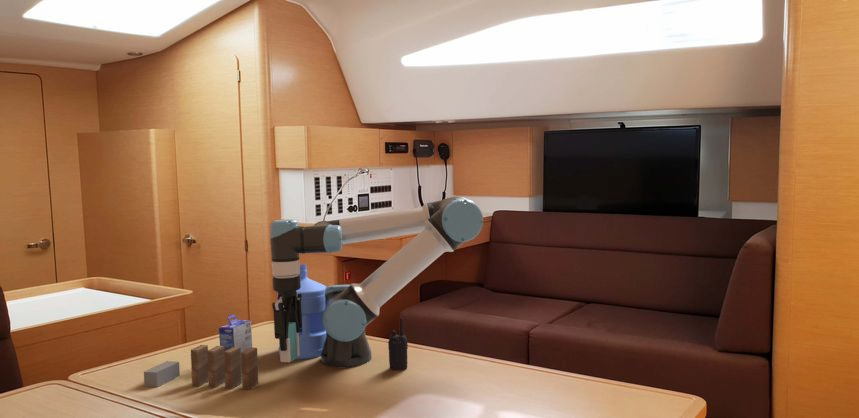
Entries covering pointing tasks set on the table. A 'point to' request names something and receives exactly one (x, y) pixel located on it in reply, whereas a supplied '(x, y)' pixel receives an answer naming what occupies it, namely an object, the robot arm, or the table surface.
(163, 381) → the block
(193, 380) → the domino
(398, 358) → the two-way radio
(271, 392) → the table surface
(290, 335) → the teal domino
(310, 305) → the water jug
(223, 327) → the ink cartridge box
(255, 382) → the domino
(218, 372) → the domino
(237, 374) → the domino
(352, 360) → the robot arm
